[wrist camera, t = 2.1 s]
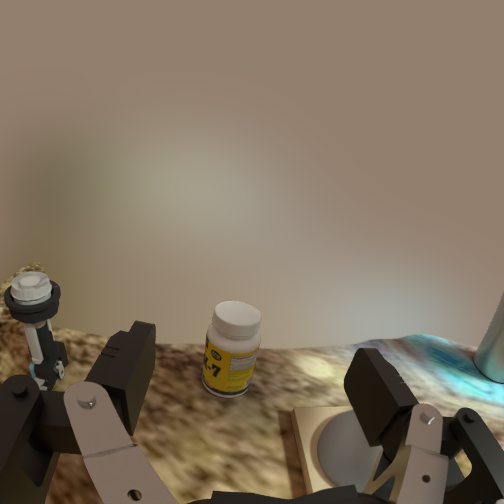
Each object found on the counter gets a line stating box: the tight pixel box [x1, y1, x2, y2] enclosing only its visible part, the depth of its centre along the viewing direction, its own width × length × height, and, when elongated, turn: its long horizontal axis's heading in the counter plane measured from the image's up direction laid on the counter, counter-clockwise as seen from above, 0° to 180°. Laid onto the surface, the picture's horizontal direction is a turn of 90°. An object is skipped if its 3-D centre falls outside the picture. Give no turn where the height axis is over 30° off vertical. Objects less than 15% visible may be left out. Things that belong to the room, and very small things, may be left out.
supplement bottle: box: [202, 301, 261, 398], centre depth 25 cm, size 5×5×8 cm
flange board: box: [291, 406, 383, 495], centre depth 17 cm, size 12×12×2 cm
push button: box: [4, 272, 68, 391], centre depth 18 cm, size 7×5×10 cm
